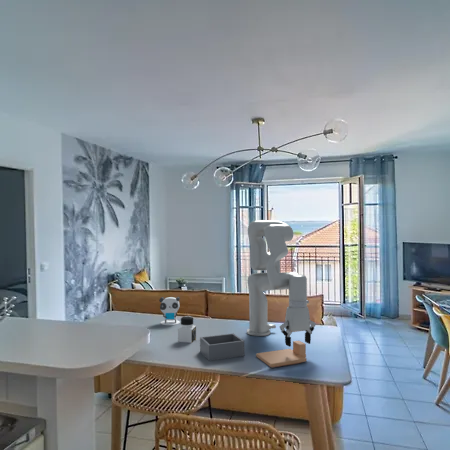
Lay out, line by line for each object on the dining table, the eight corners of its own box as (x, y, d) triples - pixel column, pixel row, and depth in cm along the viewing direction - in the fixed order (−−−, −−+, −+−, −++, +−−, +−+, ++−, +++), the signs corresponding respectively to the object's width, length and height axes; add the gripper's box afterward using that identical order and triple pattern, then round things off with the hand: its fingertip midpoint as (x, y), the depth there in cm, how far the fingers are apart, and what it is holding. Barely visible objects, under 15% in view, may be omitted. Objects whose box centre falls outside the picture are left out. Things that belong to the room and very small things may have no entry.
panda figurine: (158, 325, 201) (158, 299, 201) (161, 320, 212) (161, 295, 212) (178, 325, 201) (179, 299, 201) (181, 320, 212) (181, 295, 212)
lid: (294, 353, 155) (294, 338, 155) (311, 363, 143) (311, 346, 143) (256, 359, 148) (256, 343, 148) (270, 370, 136) (270, 352, 137)
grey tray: (233, 348, 160) (233, 333, 161) (244, 357, 149) (244, 340, 149) (200, 353, 155) (200, 337, 155) (208, 362, 143) (208, 345, 144)
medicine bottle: (191, 344, 167) (191, 319, 167) (177, 343, 168) (177, 318, 168) (196, 339, 174) (196, 315, 174) (182, 338, 175) (182, 314, 175)
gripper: (309, 300, 156) (309, 339, 155) (275, 303, 149) (275, 344, 149) (320, 304, 149) (320, 344, 148) (284, 307, 142) (285, 349, 142)
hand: (298, 344), depth 149 cm, fingers open, 9 cm apart
